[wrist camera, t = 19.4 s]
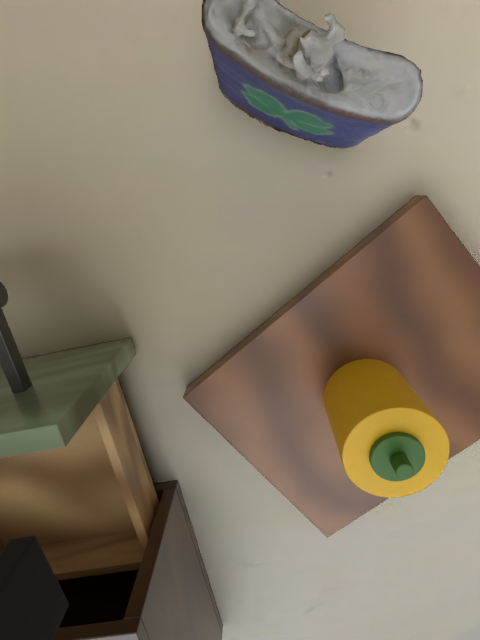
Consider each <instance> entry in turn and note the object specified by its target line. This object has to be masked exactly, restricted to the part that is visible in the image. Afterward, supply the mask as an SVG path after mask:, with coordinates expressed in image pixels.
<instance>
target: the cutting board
mask: <svg viewBox="0 0 480 640" xmlns="http://www.w3.org/2000/svg"><path fill="white" fill-rule="evenodd" d="M360 359H376V360H380V361H383V362H386V363H388V364H390V365H391V366H393V367H394V368H395V369H396V370H397V371H398V372H399V373H400V374H401V375H402V377H403V378H404V379H405V380H406V381H407V383H408V384H409V385H410V386H411V388H412V389H413V390H414V391H415V393H416V394H417V395H418V396H419V398H420V399H421V400H422V401H423V403H424V404H425V405H426V406H427V408H428V409H429V410H430V411H431V412H432V414H433V415H434V416H435V417H436V419H437V420H438V421H439V422H440V424H441V425H442V426H443V428H444V429H445V431H446V433H447V436H448V439H449V445H450V452H449V458H448V459H450V458H451V457H453V456H454V455H456V454H457V453H459V452H461V451H462V450H464V449H465V448H467V447H468V446H470V445H471V444H473V443H475V442H476V441H478V440H479V439H480V267H479V265H478V264H477V263H476V261H475V260H474V259H473V257H472V256H471V255H470V253H469V252H468V251H467V249H466V248H465V247H464V245H463V244H462V243H461V241H460V240H459V239H458V237H457V236H456V235H455V233H454V232H453V231H452V229H451V228H450V227H449V225H448V224H447V223H446V221H445V220H444V219H443V217H442V216H441V215H440V213H439V212H438V211H437V209H436V208H435V207H434V205H433V204H432V203H431V201H430V200H429V199H428V197H427V196H418V195H417V196H415V197H414V198H413V199H412V200H410V201H409V202H408V203H407V204H406V205H404V206H403V207H402V208H401V209H400V210H398V211H397V212H396V213H395V214H394V215H392V216H391V217H390V218H389V219H388V220H386V221H385V222H384V223H383V224H382V225H380V226H379V227H378V228H377V229H376V230H375V231H373V232H372V233H371V234H370V235H369V236H367V237H366V238H365V239H364V240H363V241H361V242H360V243H359V244H358V245H357V246H355V247H354V248H353V249H352V250H351V251H349V252H348V253H347V254H346V255H345V256H343V257H342V258H341V259H340V260H339V261H337V262H336V263H335V264H334V265H333V266H332V267H330V268H329V269H328V270H327V271H326V272H324V273H323V274H322V275H321V276H320V277H318V278H317V279H316V280H315V281H314V282H312V283H311V284H310V285H309V286H308V287H306V288H305V289H304V290H303V291H302V292H300V293H299V294H298V295H297V296H296V297H294V298H293V299H292V300H291V301H290V302H288V303H287V304H286V305H285V306H284V307H283V308H281V309H280V310H279V311H278V312H277V313H275V314H274V315H273V316H272V317H271V318H269V319H268V320H267V321H266V322H265V323H263V324H262V325H261V326H260V327H259V328H257V329H256V330H255V331H254V332H253V333H251V334H250V335H249V336H248V337H247V338H245V339H244V340H243V341H242V342H241V343H240V344H238V345H237V346H236V347H235V348H234V349H232V350H231V351H230V352H229V353H228V354H226V355H225V356H224V357H223V358H222V359H220V360H219V361H218V362H217V363H216V364H214V365H213V366H212V367H211V368H210V369H208V370H207V371H206V372H205V373H204V374H202V375H201V376H200V377H199V378H198V379H196V380H195V381H194V382H193V383H192V384H191V385H189V386H188V387H187V388H186V391H185V393H184V396H183V398H184V399H185V400H186V401H187V402H188V403H189V404H190V405H191V406H192V407H193V408H194V409H195V410H196V411H197V412H198V413H199V414H200V415H201V416H202V417H203V418H204V419H205V420H207V421H208V422H209V423H210V424H211V425H212V426H213V427H214V428H215V429H216V430H217V431H218V432H219V433H220V434H221V435H222V436H223V437H224V438H225V439H226V440H227V441H228V442H229V443H230V444H231V445H232V446H233V447H234V448H235V449H236V450H238V451H239V452H240V453H241V454H242V455H243V456H244V457H245V458H246V459H247V460H248V461H249V462H250V463H251V464H252V465H253V466H254V467H255V468H256V469H257V470H258V471H259V472H260V473H261V474H262V475H263V476H264V477H265V478H266V479H267V480H269V481H270V482H271V483H272V484H273V485H274V486H275V487H276V488H277V489H278V490H279V491H280V492H281V493H282V494H283V495H284V496H285V497H286V498H287V499H288V500H289V501H290V502H291V503H292V504H293V505H294V506H295V507H296V508H297V509H298V510H300V511H301V512H302V513H303V514H304V515H305V516H306V517H307V518H308V519H309V520H310V521H311V522H312V523H313V524H314V525H315V526H316V527H317V528H318V529H319V530H320V531H321V532H322V533H323V534H324V535H325V536H326V537H329V536H331V535H332V534H334V533H335V532H337V531H338V530H340V529H341V528H343V527H345V526H346V525H348V524H349V523H351V522H352V521H354V520H355V519H357V518H358V517H360V516H362V515H363V514H365V513H366V512H368V511H369V510H371V509H372V508H374V507H375V506H377V505H379V504H380V503H382V502H383V501H385V500H386V499H388V497H380V496H376V495H372V494H370V493H367V492H365V491H363V490H362V489H360V488H359V487H357V486H356V485H355V484H354V483H353V482H352V481H351V480H350V478H349V477H348V475H347V474H346V472H345V469H344V467H343V464H342V461H341V458H340V455H339V451H338V448H337V445H336V442H335V439H334V436H333V433H332V430H331V427H330V424H329V420H328V417H327V414H326V411H325V408H324V404H323V394H324V389H325V386H326V384H327V382H328V380H329V379H330V377H331V376H332V375H333V374H334V372H335V371H337V370H338V369H339V368H340V367H342V366H343V365H345V364H347V363H349V362H352V361H355V360H360Z"/></svg>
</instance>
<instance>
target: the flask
mask: <svg viewBox="0 0 480 640" xmlns="http://www.w3.org/2000/svg"><path fill="white" fill-rule="evenodd" d="M324 19H325V20H326V21H327V23H328V24H329V25H330V27H329V30H328V31H326V30H324V29H321V28H319V27H317V26H315V25H314V24H313V23H310V22H308V21H305V20H303V19H302V18H300V17H299V16H297V15H296V14H294V13H293V12H291V11H290V10H288V9H286V8H284V7H283V6H282V5H281V4H280V3H279V2H277V1H276V0H203V4H202V25H203V29H204V32H205V34H206V37H207V40H208V44H209V48H210V51H211V54H212V58H213V63H214V68H215V71H216V75H217V77H218V82H219V88H220V89H221V91H222V93H223V95H224V96H225V97H226V98H228V99H229V100H230V102H231V103H232V104H233V105H234V106H236V107H238V108H239V109H241V110H242V111H245V113H247V114H248V115H249V116H250V117H252V118H256V119H257V120H258V121H259V122H260V123H263V124H265V125H266V126H270V127H272V128H274V129H275V130H278V131H282V132H286V133H288V134H290V135H293V136H296V137H299V138H302V139H304V140H310V141H312V142H314V143H317V144H321V145H322V144H323V145H325V146H330V147H334V148H336V147H338V148H347V147H352V146H355V145H357V144H359V143H360V142H361V141H363V140H364V139H366V138H368V137H370V136H372V135H375V134H377V133H378V132H380V131H381V130H383V129H385V128H388V127H389V126H391V125H394V124H396V123H398V122H400V121H403V120H405V119H407V117H408V116H409V115H410V114H411V113H412V112H413V111H414V110H415V108H416V107H417V105H418V104H419V102H420V100H421V97H422V83H423V80H422V78H421V70H420V69H419V68H418V67H417V66H416V65H415V64H414V63H413V62H411V61H409V60H408V59H406V58H405V57H403V56H402V55H398V54H394V53H390V52H383V51H379V50H375V49H371V48H367V47H363V46H359V45H357V44H356V43H354V42H351V41H347V40H346V39H345V29H344V28H343V27H342V25H341V24H339V23H338V22H337V20H336V18H335V16H334V14H330V13H329V14H327V15H325V17H324Z"/></svg>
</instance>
